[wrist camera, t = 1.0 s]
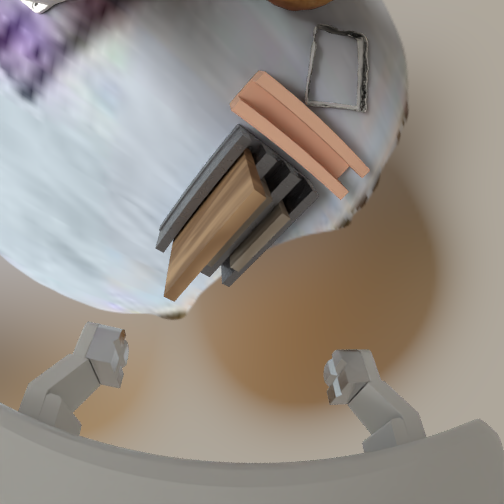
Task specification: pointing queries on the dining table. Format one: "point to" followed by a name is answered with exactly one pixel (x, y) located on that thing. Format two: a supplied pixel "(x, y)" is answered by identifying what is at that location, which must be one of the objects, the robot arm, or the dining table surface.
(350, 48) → the dining table surface
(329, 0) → the butternut squash
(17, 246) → the dining table surface
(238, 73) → the dining table surface
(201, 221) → the tall sheet
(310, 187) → the rack
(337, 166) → the holder
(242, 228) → the offcut
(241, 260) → the offcut
